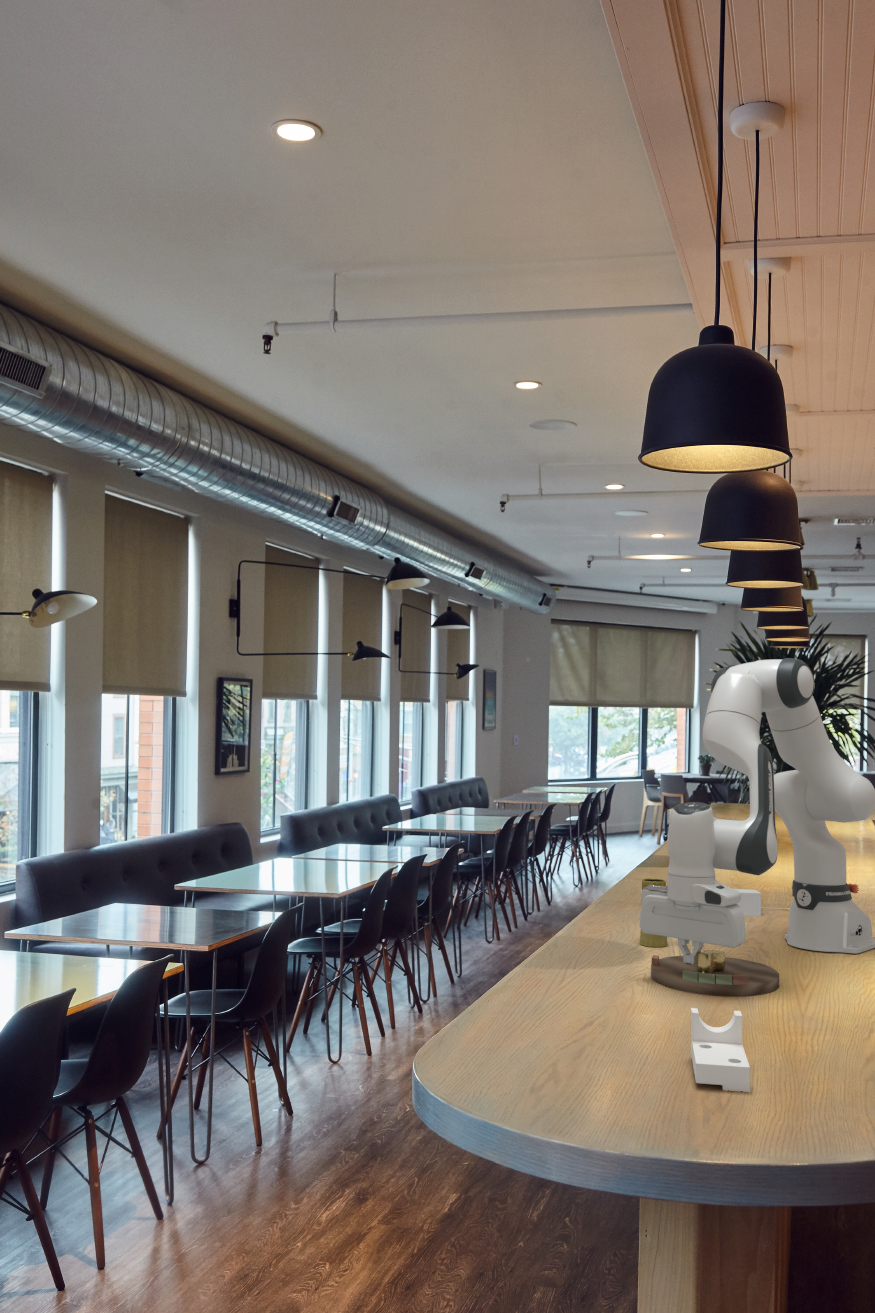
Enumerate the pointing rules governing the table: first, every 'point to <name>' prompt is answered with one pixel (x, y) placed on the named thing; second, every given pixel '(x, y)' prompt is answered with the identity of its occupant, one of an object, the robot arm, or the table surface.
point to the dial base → (732, 967)
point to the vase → (652, 939)
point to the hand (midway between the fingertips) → (690, 964)
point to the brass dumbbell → (710, 961)
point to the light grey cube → (750, 902)
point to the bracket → (719, 1053)
